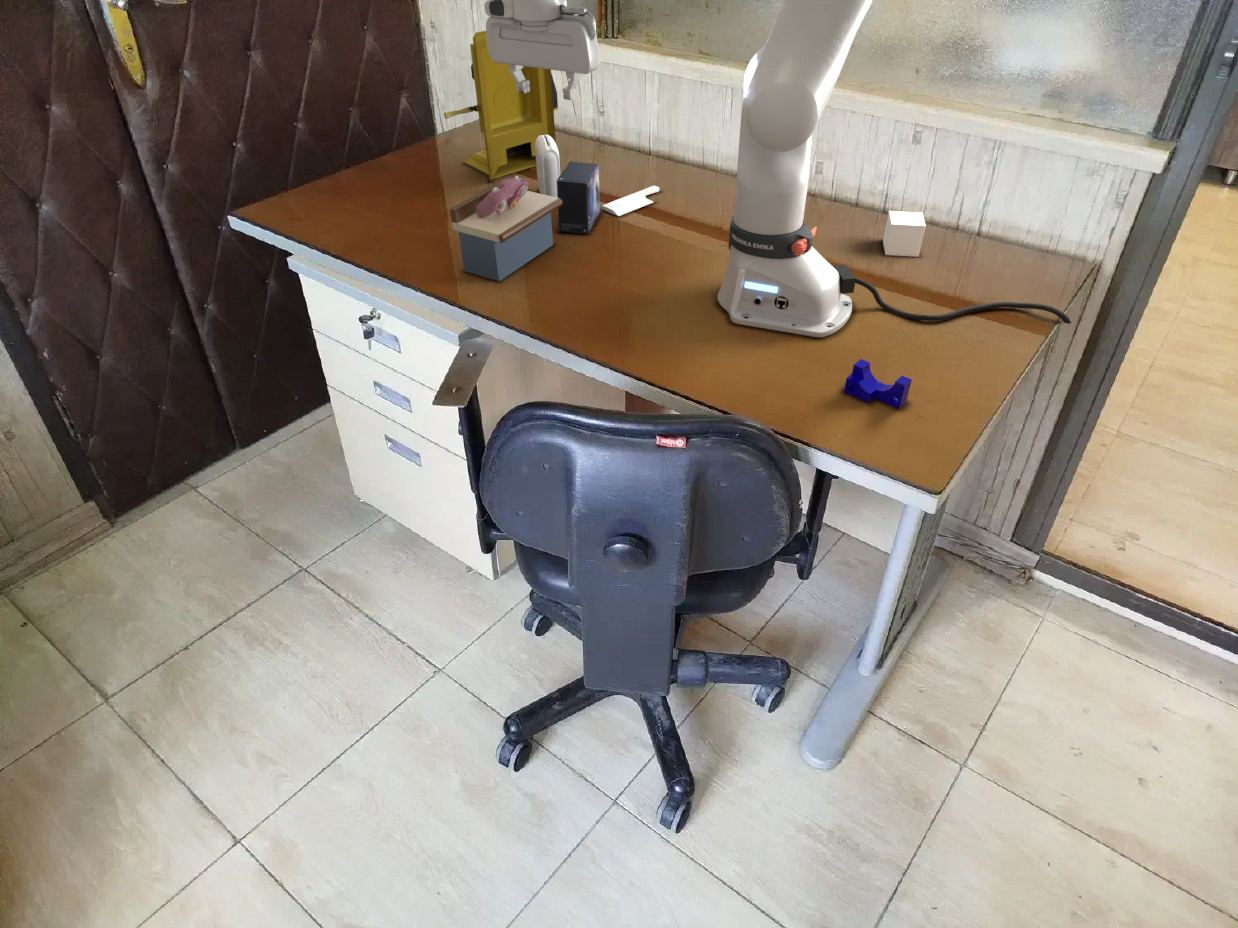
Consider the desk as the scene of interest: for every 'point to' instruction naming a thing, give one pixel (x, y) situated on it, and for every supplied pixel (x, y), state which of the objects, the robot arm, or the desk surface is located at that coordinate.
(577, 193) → the small box
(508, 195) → the video game controller
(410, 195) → the desk surface
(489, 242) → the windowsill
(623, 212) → the white plastic blade
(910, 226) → the white cube
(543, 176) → the photo printer
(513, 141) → the yellow upright casing
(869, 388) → the cable holder
